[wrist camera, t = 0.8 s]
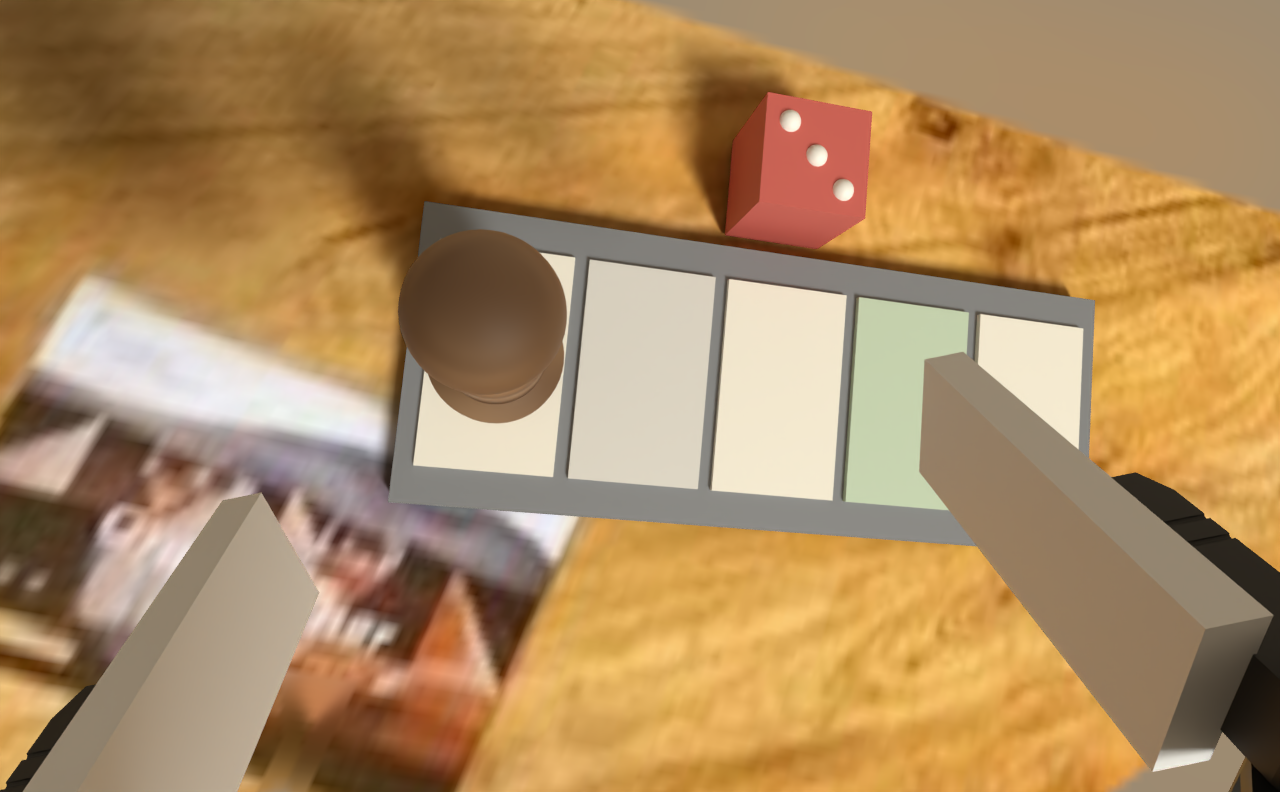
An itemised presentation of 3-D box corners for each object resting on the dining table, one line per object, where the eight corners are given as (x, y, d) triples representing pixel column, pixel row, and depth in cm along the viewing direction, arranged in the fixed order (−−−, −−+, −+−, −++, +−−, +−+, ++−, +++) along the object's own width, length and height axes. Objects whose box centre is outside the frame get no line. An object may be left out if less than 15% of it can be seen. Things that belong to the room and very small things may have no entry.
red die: (732, 141, 31) (771, 87, 26) (823, 156, 31) (876, 107, 27) (724, 235, 30) (762, 198, 26) (816, 249, 31) (869, 215, 26)
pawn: (437, 285, 27) (374, 167, 15) (568, 302, 28) (605, 202, 16) (421, 416, 26) (344, 398, 15) (555, 429, 27) (583, 422, 16)
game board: (427, 209, 28) (423, 199, 27) (1077, 304, 33) (1099, 299, 32) (392, 499, 27) (386, 502, 26) (1067, 550, 32) (1089, 555, 31)
